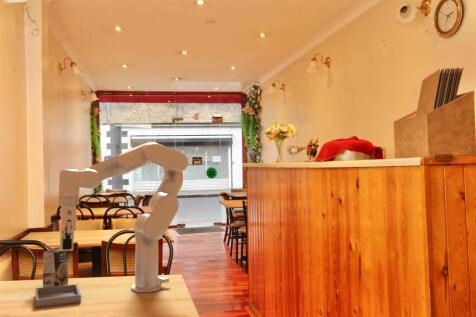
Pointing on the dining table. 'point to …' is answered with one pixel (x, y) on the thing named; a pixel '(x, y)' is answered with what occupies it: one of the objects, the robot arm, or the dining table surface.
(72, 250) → the cream rectangular block
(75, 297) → the tray
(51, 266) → the coffee box
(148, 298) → the dining table surface
